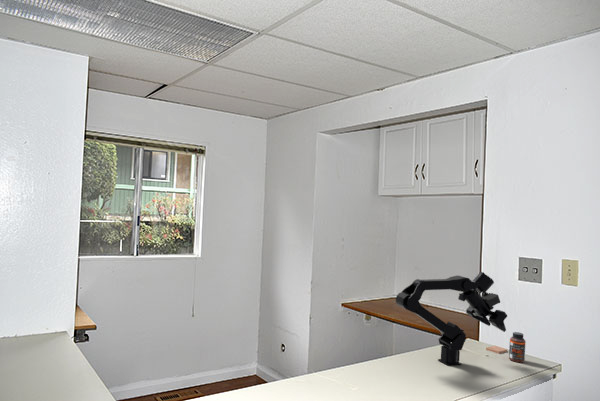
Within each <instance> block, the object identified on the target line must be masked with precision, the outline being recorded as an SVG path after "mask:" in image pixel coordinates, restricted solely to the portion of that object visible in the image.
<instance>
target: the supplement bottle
mask: <svg viewBox="0 0 600 401" xmlns="http://www.w3.org/2000/svg"><path fill="white" fill-rule="evenodd" d="M525 358H526V339H525V338H524V333H522V332H520V331H519V332H518V331H517V332H516V331H514V332H513V331H512V336H511V337H510V338H509V350H508V359H509V360H510V361H513V362H514V363H515V362H516V363H524V362H525Z"/></svg>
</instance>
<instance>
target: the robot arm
mask: <svg viewBox="0 0 600 401" xmlns="http://www.w3.org/2000/svg"><path fill="white" fill-rule="evenodd" d="M494 284H495V282H494V280H493V278H491V277H490V276H489V275H487V274H486V273H485V272H483V271H480V272H479V273H478V274H477V275H476V277H474V279H470V278H469V277H465V276H461V275H454V276H450V277H447V278H438V279H436V278H433V279H419V278H417V279H415V280H414V281H412V283H410V284H409V285H408V286H407V287H404V289H403V290H402V291H401V292H399V293H398V294H396V297H395V304H396V305H397V306H399V307H401V308H402V309H404V310H407V311H409V312H411V313H413V314H415V315H417V316H418V317H419V318H421V319H422V320H424V321H425V322H426V323H428V324H429V325H430V326H432V327H433V328H435V329H437V330H438V331H439V333H440V336H439V338H438V343H439V345H441V347H440V349H441V350H440V358H437V361H439V362H441V363H442V364H444V365H446V366H449V367H450V366H460V365H462V363H461V362H460V353H461V351H462V350H463V347H464V344H465V342H466V340H467V334H466V333H465V329H462V328H460V327H459V325H457V324H455V323H453V322H451V321H447V323H446V322H445V321H443V320H442V319H441V318H439V317H438V316H436V315H435V314H434V313H432V312H431V311H429V310H428V309H426V308H425V307H424V306H422V304H421V302H420V300H421V299H422V296H423V294H424V292H425V291H438V290H439V291H442V290H451V291H457V292H459V294H458V300H459V301H462V302H467V303H468V305H469V306H468V307H467V308H466V312H465V313H466V314H467V316H469V317H471V318H473V319H475V320H476V321H479V322H481V323H482V324H485V325H487V326H488V327H490V326H493V327H495V328H496V329H498V330H500V331H502V332H503V333H505V332H507V328H506V326H505V325H506V324H505V320H506V319H507V317H508V314H507V313H506V311H503V310H501V309H495V311H493V309H494V306H496V305H497V304H500V303H501V300H500V297H499V294H497V293H493V292H489V293H488V292H487V291H488V290H489V289H490V288H491V287H492V286H493V285H494ZM460 292H461V293H460Z"/></svg>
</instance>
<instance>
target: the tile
mask: <svg viewBox="0 0 600 401" xmlns="http://www.w3.org/2000/svg"><path fill="white" fill-rule="evenodd" d="M485 350H486V351H489V352H493V353H495V354H498V355H499V354H504V353H507V352H508V349H507V348H503V347H501V346H498V345H492V346H488V347H485Z"/></svg>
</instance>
